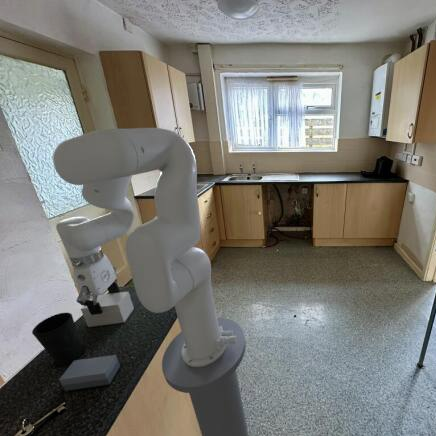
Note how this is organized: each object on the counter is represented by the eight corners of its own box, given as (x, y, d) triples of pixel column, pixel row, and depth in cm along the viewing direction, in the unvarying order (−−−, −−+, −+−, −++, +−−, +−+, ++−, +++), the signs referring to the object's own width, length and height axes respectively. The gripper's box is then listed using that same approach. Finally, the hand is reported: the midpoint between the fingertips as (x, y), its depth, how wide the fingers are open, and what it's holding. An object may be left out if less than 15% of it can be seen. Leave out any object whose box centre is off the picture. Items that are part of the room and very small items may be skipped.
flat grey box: (130, 297, 81) (128, 291, 81) (120, 310, 75) (118, 304, 75) (96, 301, 80) (93, 295, 79) (83, 315, 74) (80, 309, 73)
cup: (91, 340, 71) (76, 308, 67) (82, 361, 64) (65, 327, 60) (58, 350, 68) (40, 318, 64) (46, 373, 61) (25, 339, 57)
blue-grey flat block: (118, 360, 62) (115, 354, 61) (106, 378, 57) (104, 373, 57) (76, 366, 61) (73, 360, 60) (61, 385, 56) (58, 379, 56)
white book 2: (134, 308, 83) (132, 302, 82) (124, 322, 77) (122, 316, 76) (100, 312, 82) (98, 307, 81) (88, 327, 76) (85, 321, 75)
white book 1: (132, 302, 82) (130, 297, 81) (122, 316, 76) (119, 310, 75) (98, 307, 81) (95, 301, 80) (85, 321, 75) (82, 315, 74)
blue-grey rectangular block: (120, 365, 63) (118, 360, 62) (109, 384, 58) (106, 378, 57) (79, 371, 62) (76, 365, 61) (65, 391, 57) (61, 385, 56)
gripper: (81, 272, 63) (102, 321, 70) (116, 243, 79) (131, 285, 86) (50, 275, 63) (75, 324, 69) (92, 245, 79) (109, 287, 85)
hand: (106, 302), depth 77 cm, fingers open, 9 cm apart
